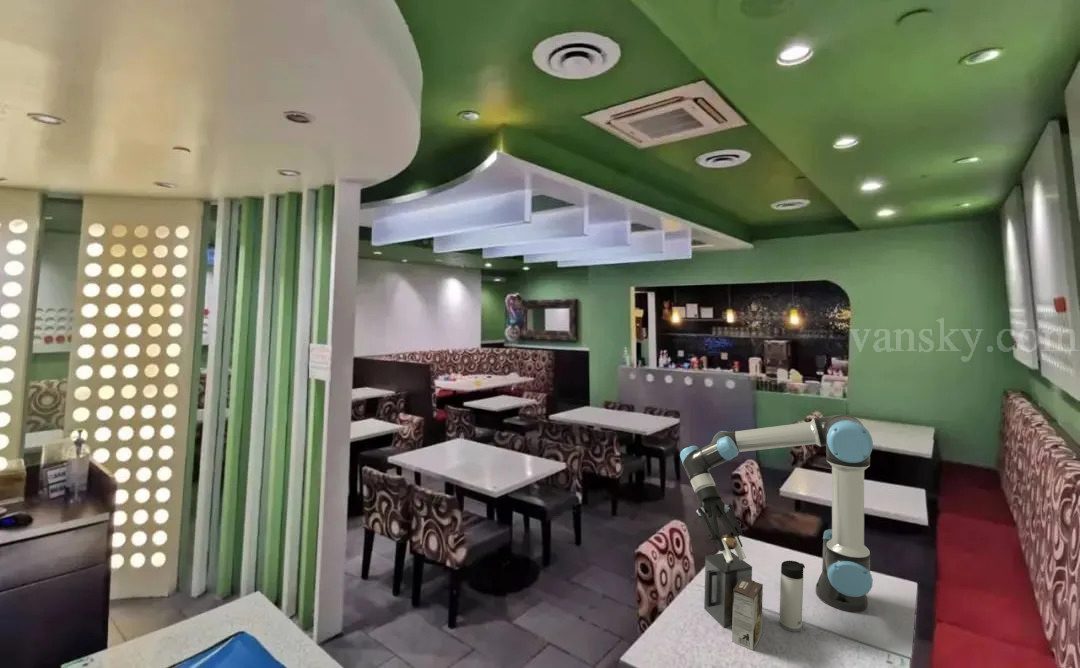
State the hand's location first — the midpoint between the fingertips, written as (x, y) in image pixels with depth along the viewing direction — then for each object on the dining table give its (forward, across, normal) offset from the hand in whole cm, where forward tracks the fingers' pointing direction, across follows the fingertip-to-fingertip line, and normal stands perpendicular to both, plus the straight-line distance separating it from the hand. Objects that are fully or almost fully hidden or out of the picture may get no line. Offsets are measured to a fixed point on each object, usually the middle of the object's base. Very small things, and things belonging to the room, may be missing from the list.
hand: (736, 559), depth 152 cm
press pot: (+12, +1, -17) cm, 21 cm away
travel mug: (+19, -16, -10) cm, 27 cm away
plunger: (+10, 0, -16) cm, 19 cm away
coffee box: (+20, +1, -9) cm, 22 cm away
